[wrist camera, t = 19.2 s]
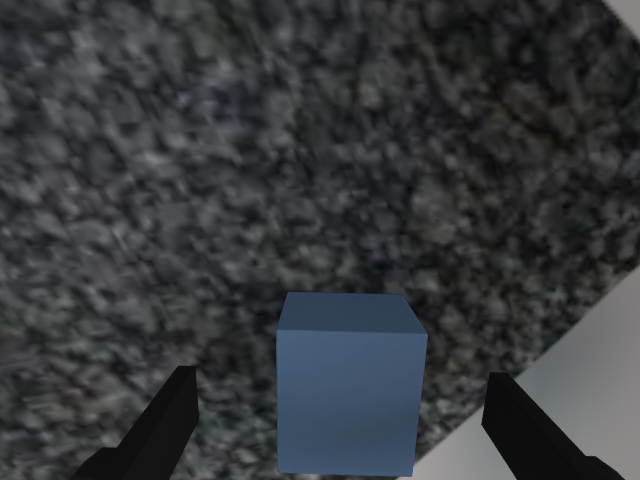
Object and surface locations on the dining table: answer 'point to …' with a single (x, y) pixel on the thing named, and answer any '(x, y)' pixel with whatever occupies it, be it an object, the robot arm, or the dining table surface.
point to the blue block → (348, 384)
